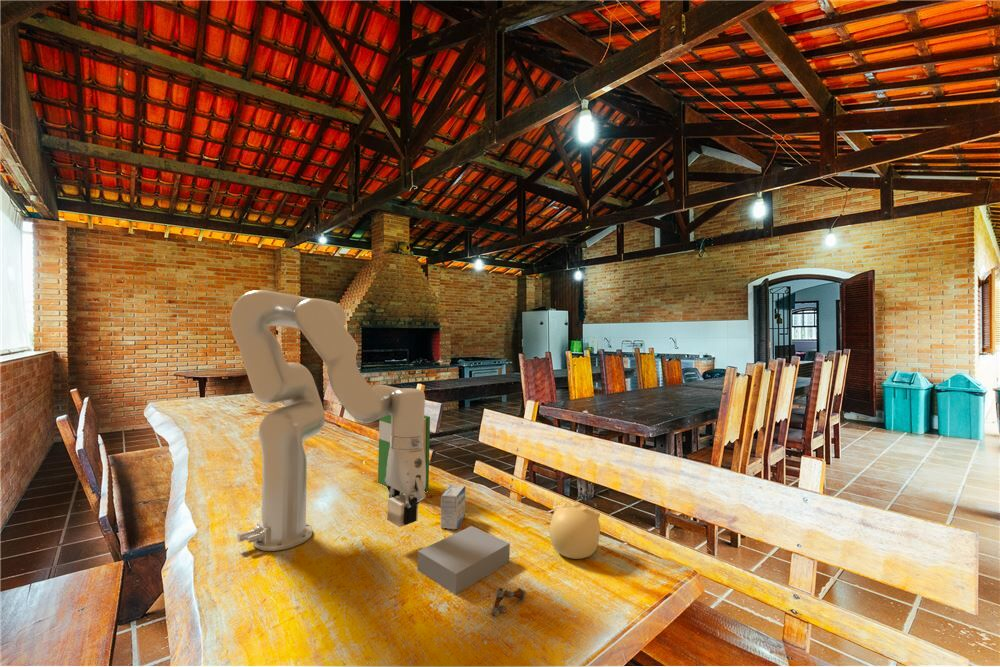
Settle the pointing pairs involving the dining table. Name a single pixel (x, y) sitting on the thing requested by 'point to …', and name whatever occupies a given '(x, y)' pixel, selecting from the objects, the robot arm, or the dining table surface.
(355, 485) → the dining table surface
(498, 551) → the stand
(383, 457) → the hardback book
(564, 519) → the sculpture
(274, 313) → the robot arm
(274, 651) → the dining table surface
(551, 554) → the dining table surface
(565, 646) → the dining table surface
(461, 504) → the medicine box
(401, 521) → the wooden cube
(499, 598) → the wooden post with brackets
